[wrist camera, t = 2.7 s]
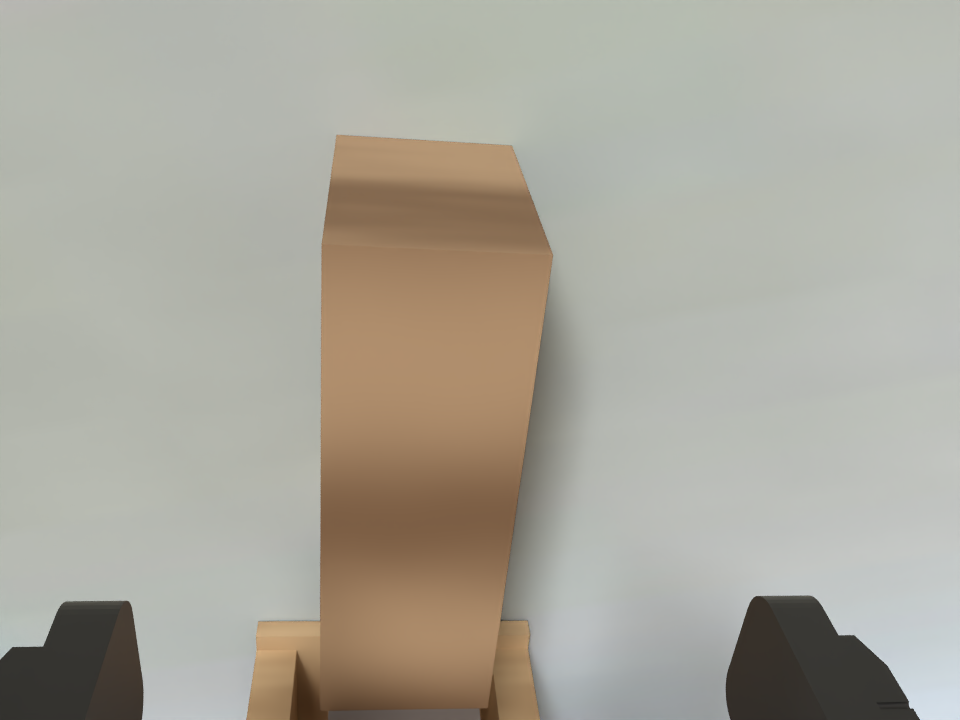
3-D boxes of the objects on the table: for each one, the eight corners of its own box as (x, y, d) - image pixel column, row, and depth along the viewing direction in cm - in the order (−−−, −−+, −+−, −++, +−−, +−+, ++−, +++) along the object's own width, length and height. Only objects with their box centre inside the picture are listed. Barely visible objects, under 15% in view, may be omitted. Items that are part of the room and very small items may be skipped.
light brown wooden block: (336, 134, 21) (319, 264, 15) (512, 145, 21) (560, 274, 15) (331, 558, 27) (318, 762, 21) (465, 558, 28) (487, 758, 22)
